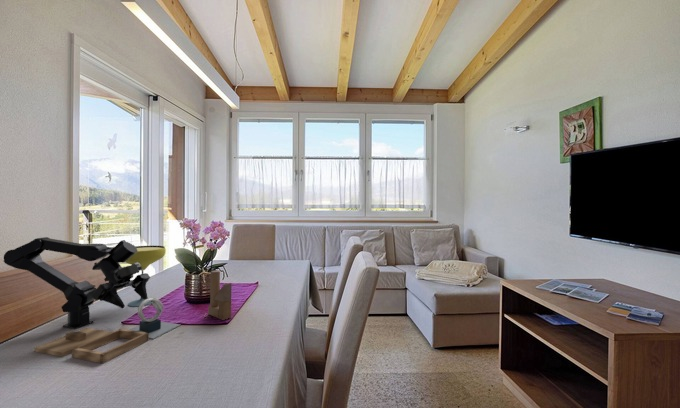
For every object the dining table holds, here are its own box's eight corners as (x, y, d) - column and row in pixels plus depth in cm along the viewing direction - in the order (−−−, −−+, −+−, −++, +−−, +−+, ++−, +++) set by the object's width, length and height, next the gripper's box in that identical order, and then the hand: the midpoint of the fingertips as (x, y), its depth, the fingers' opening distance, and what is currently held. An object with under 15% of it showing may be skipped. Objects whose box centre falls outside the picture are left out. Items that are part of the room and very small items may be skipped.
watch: (166, 326, 111) (166, 296, 111) (143, 335, 104) (143, 303, 104) (156, 323, 114) (157, 294, 114) (134, 331, 106) (134, 300, 106)
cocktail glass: (122, 299, 142) (122, 246, 142) (166, 294, 150) (166, 244, 150) (113, 312, 126) (114, 252, 126) (163, 306, 134) (164, 249, 134)
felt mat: (121, 334, 105) (121, 333, 105) (150, 321, 117) (150, 320, 117) (153, 339, 102) (153, 338, 101) (180, 325, 113) (180, 324, 113)
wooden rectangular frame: (72, 357, 89) (72, 348, 89) (120, 335, 104) (120, 328, 104) (102, 363, 86) (102, 354, 86) (148, 340, 101) (148, 332, 101)
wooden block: (223, 320, 118) (223, 275, 118) (207, 314, 124) (208, 271, 124) (231, 317, 121) (232, 273, 121) (216, 312, 127) (216, 269, 127)
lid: (34, 351, 93) (34, 340, 93) (86, 331, 107) (86, 322, 107) (62, 356, 90) (62, 346, 90) (112, 335, 104) (112, 326, 104)
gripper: (99, 261, 103) (123, 296, 100) (147, 253, 121) (169, 282, 118) (81, 282, 105) (105, 317, 102) (131, 271, 123) (152, 300, 120)
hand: (135, 303), depth 111 cm, fingers open, 9 cm apart
